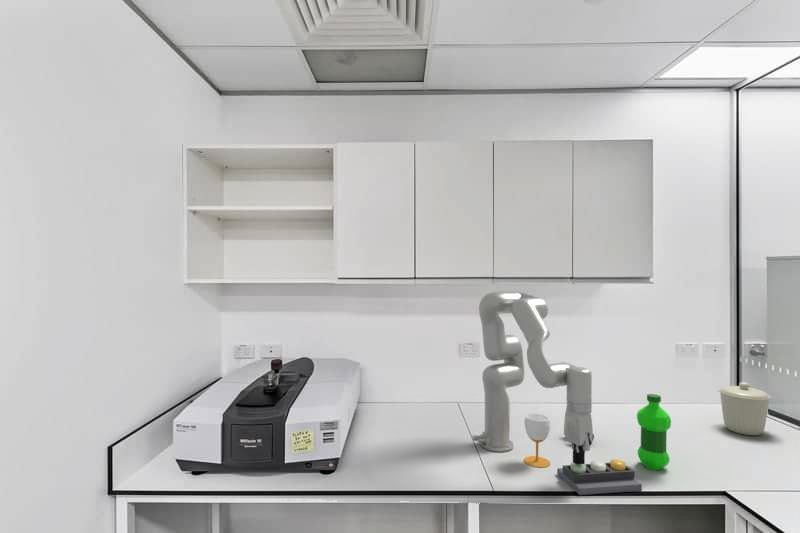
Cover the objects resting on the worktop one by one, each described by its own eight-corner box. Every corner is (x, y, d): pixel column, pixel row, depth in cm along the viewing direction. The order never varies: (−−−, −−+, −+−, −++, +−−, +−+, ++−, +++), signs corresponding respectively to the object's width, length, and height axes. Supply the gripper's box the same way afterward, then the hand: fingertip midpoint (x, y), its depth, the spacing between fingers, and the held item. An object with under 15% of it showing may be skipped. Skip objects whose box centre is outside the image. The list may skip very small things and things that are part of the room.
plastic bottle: (653, 475, 154) (654, 401, 154) (629, 462, 165) (630, 392, 164) (677, 471, 157) (678, 398, 157) (652, 458, 167) (653, 390, 167)
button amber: (615, 473, 147) (615, 466, 147) (607, 467, 152) (607, 459, 152) (628, 472, 148) (628, 465, 148) (619, 466, 153) (619, 459, 153)
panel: (579, 495, 141) (579, 480, 141) (557, 474, 154) (557, 461, 154) (641, 490, 144) (641, 476, 144) (614, 470, 158) (614, 457, 158)
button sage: (575, 476, 145) (575, 468, 145) (567, 469, 150) (567, 462, 150) (588, 475, 146) (588, 467, 146) (580, 469, 151) (580, 461, 151)
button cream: (595, 475, 146) (595, 467, 146) (587, 468, 151) (587, 461, 151) (608, 474, 147) (608, 466, 147) (600, 467, 152) (600, 460, 152)
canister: (762, 442, 184) (763, 390, 183) (711, 429, 198) (711, 380, 198) (776, 433, 194) (777, 383, 194) (727, 421, 209) (727, 375, 209)
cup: (525, 455, 170) (525, 411, 170) (551, 459, 166) (551, 415, 166) (522, 465, 161) (522, 419, 161) (549, 469, 158) (550, 423, 158)
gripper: (556, 400, 155) (556, 454, 155) (580, 414, 140) (580, 474, 140) (577, 399, 156) (577, 453, 156) (603, 413, 141) (602, 472, 141)
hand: (578, 463), depth 148 cm, fingers closed
